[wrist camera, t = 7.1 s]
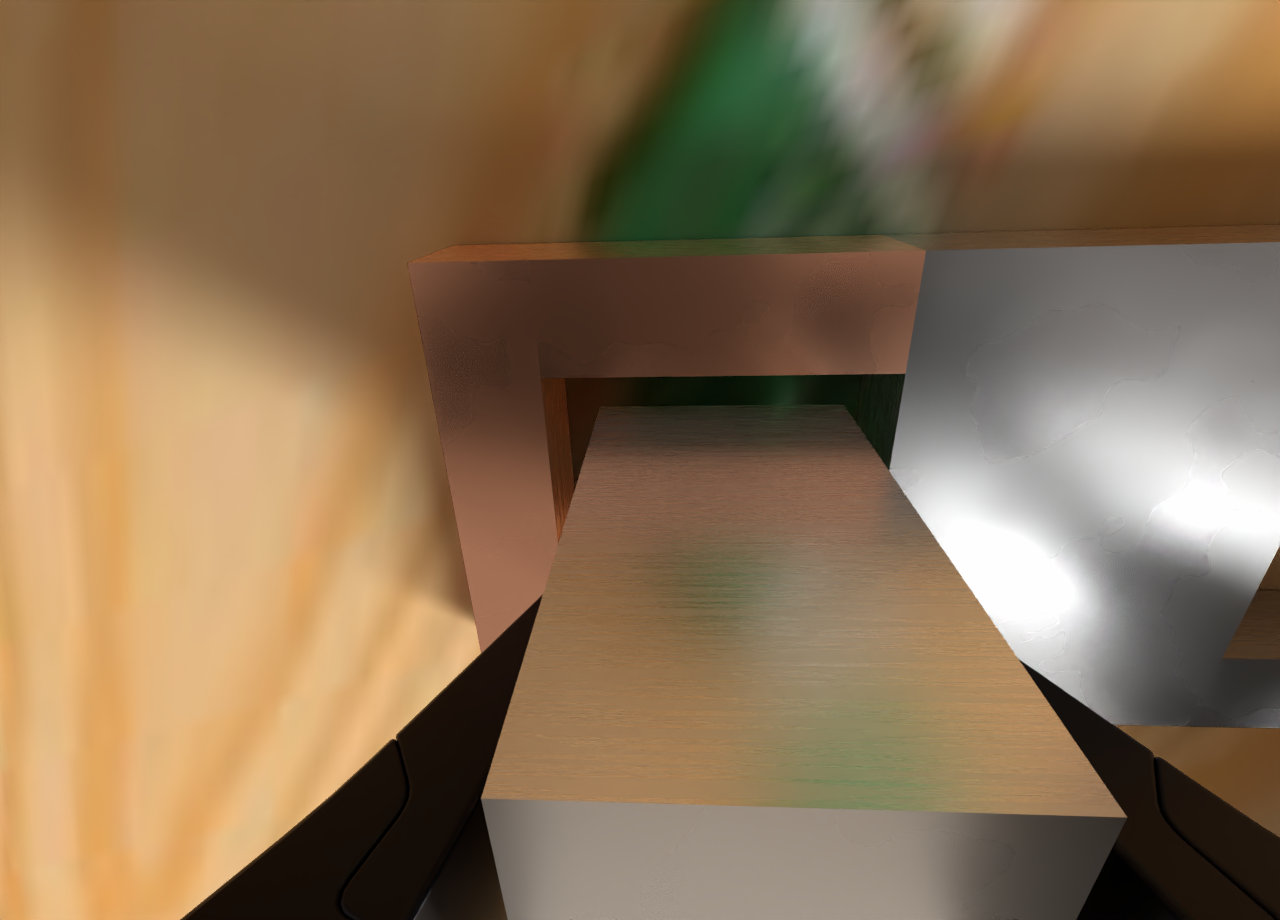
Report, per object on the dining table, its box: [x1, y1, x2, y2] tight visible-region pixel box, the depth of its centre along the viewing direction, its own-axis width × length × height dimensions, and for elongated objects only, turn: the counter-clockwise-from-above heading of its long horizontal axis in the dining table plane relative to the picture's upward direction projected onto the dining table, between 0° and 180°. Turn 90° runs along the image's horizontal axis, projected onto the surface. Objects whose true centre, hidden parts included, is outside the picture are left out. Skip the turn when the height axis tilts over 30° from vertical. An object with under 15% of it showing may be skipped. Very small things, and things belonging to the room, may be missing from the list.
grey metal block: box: [481, 404, 1127, 920], centre depth 8 cm, size 4×4×7 cm
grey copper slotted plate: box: [407, 224, 1280, 728], centre depth 11 cm, size 21×9×2 cm, turn 92°
